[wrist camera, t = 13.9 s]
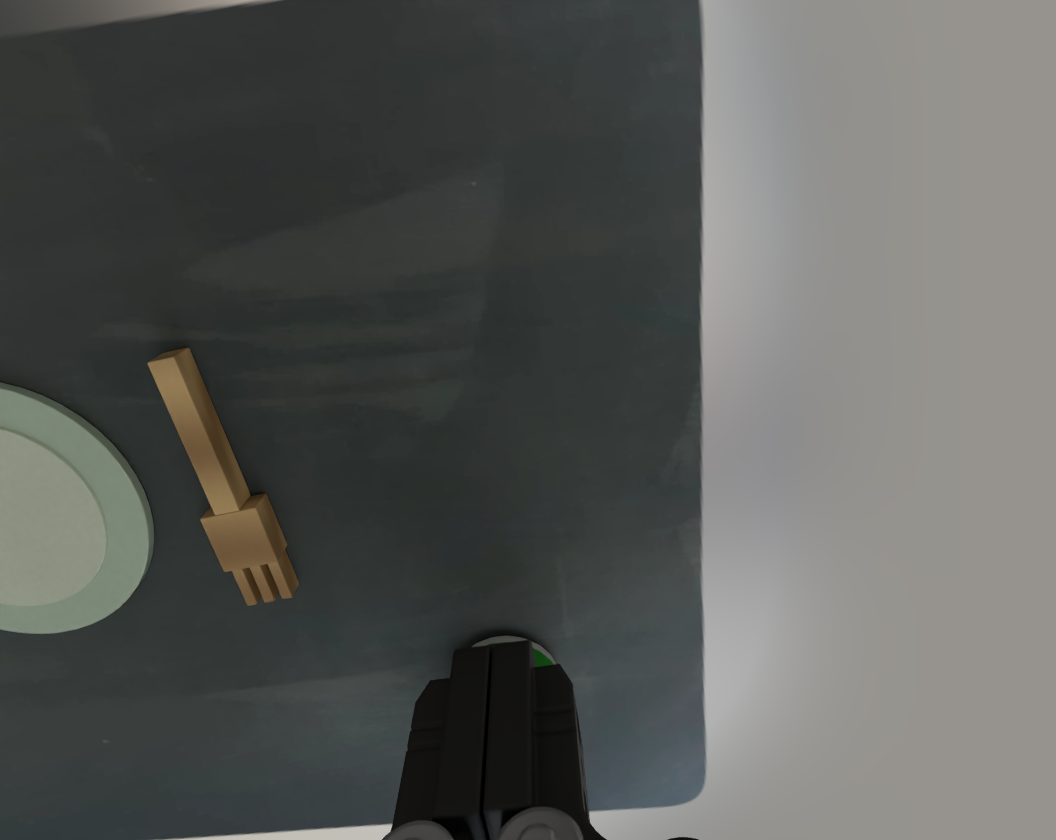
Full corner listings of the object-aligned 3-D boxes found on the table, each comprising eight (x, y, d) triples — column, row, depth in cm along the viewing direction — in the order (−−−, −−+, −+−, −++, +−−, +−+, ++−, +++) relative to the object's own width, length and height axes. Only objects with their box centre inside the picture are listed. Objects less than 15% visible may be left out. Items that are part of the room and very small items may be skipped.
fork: (147, 355, 40) (129, 366, 38) (205, 343, 39) (190, 352, 38) (252, 592, 46) (241, 610, 44) (303, 582, 46) (294, 600, 44)
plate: (-200, 405, 41) (-218, 411, 40) (87, 355, 40) (75, 361, 39) (-54, 643, 47) (-67, 654, 46) (194, 606, 46) (187, 616, 45)
